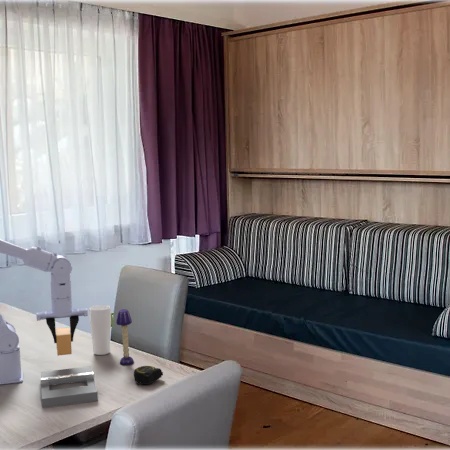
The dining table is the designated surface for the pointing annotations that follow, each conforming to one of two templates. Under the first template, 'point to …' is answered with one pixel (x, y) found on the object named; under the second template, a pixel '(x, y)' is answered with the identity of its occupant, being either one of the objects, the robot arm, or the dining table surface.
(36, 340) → the dining table surface
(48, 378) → the hook bar
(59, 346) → the tall orange box
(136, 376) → the tape measure
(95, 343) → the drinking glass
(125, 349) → the toy lamp
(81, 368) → the gray rectangular frame
